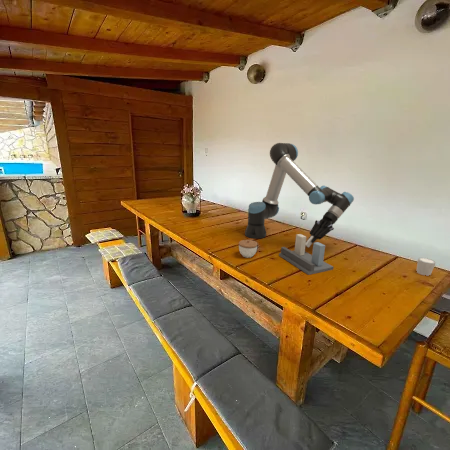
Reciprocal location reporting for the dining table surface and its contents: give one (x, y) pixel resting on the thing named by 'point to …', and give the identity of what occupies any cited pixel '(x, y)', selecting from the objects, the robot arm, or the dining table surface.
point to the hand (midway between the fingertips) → (306, 245)
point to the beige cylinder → (425, 266)
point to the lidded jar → (248, 248)
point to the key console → (303, 262)
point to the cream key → (300, 244)
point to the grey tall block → (318, 254)
